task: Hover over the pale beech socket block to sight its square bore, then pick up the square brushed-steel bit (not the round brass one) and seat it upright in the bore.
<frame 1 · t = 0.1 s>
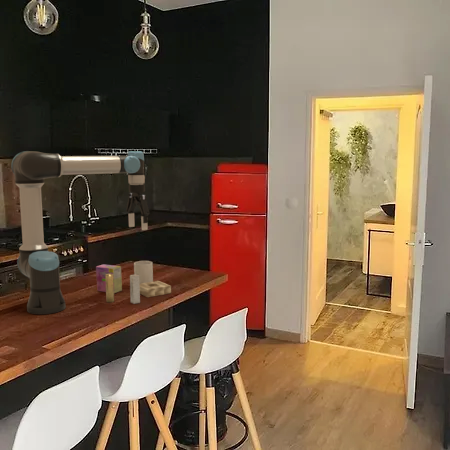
hand: (138, 228, 255), 28 cm above the kitchen island, fingers open, 13 cm apart
box: (109, 291, 249), on the kitchen island
mug: (145, 284, 261), on the kitchen island
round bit: (110, 301, 231), on the kitchen island
square bit: (135, 302, 229), on the kitchen island
socket block: (153, 292, 245), on the kitchen island
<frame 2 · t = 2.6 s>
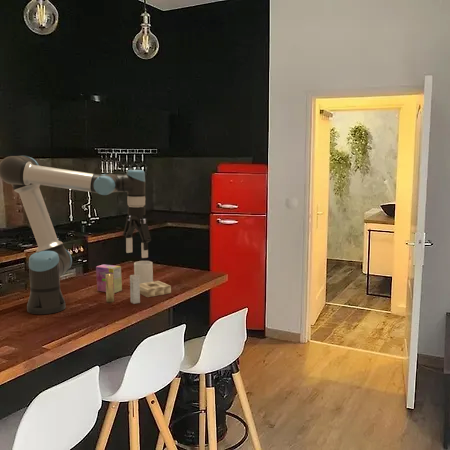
hand: (136, 255, 230), 20 cm above the kitchen island, fingers open, 13 cm apart
nothing on the kitchen island moved.
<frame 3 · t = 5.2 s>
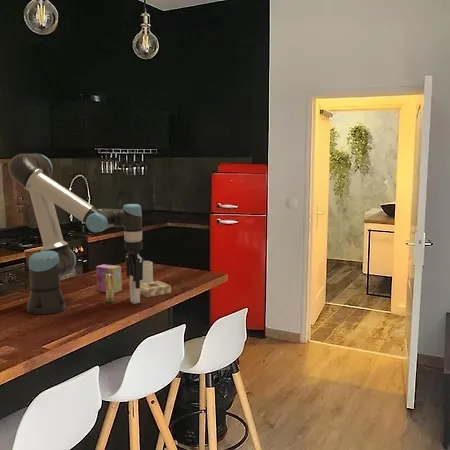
hand: (135, 294, 229), 4 cm above the kitchen island, fingers closed on square bit, 3 cm apart
square bit: (135, 302, 229), on the kitchen island, touching gripper
everything else where it was.
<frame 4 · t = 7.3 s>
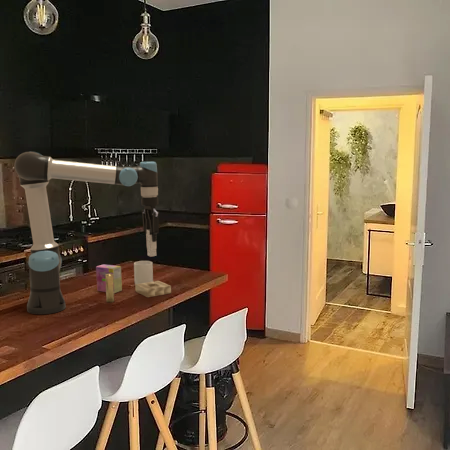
hand: (151, 247, 241), 21 cm above the kitchen island, fingers closed on square bit, 3 cm apart
square bit: (152, 255, 242), point 18 cm above the kitchen island, touching gripper
everything else where it was.
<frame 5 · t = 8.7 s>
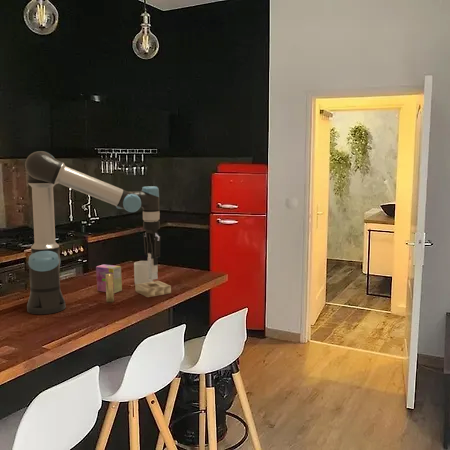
hand: (152, 271, 244), 10 cm above the kitchen island, fingers closed on square bit, 3 cm apart
square bit: (153, 278, 245), point 6 cm above the kitchen island, touching gripper
everything else where it was.
when the fingers open (5 cm above the kitchen island, at t = 9.8 s): square bit drops 1 cm, resting in socket block.
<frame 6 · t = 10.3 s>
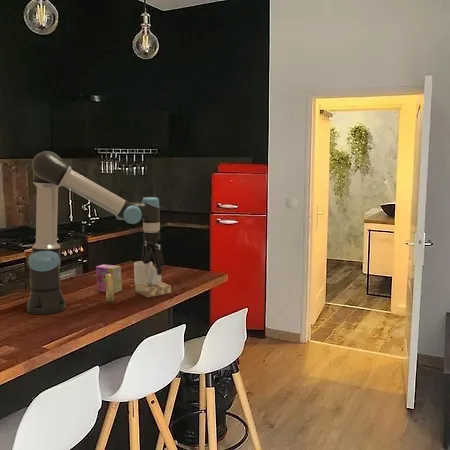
hand: (152, 279, 245), 6 cm above the kitchen island, fingers open, 10 cm apart
square bit: (153, 292, 245), resting in socket block
everything else where it was.
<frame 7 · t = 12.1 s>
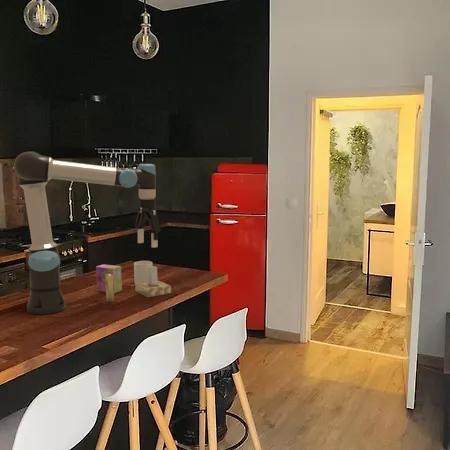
hand: (147, 245, 242), 22 cm above the kitchen island, fingers open, 13 cm apart
nothing on the kitchen island moved.
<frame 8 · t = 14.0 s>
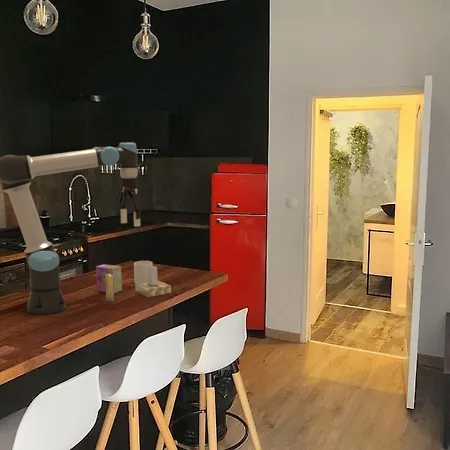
hand: (130, 224, 240), 32 cm above the kitchen island, fingers open, 13 cm apart
nothing on the kitchen island moved.
at the end: square bit 0.1 cm off-centre on the socket block, point 0.0 cm above the socket block's base; square bit tilted 0°; the gripper is holding nothing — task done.
